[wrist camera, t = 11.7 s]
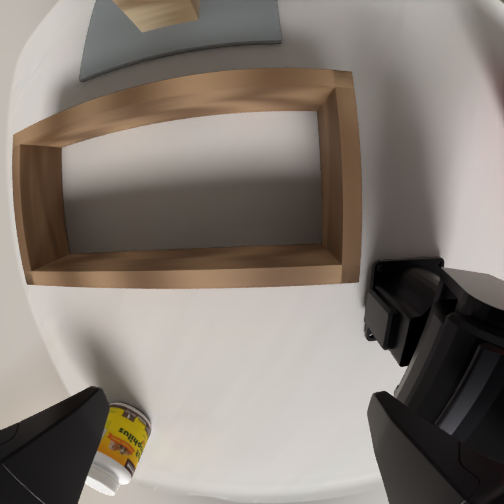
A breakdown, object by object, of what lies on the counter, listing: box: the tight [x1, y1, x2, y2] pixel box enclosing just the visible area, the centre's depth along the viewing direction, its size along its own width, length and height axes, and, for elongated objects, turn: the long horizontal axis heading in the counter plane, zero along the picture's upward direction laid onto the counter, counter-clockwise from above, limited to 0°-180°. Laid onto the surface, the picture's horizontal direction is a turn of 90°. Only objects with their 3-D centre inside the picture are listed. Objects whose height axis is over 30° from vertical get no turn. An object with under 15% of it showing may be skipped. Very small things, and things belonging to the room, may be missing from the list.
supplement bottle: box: [85, 403, 151, 496], centre depth 19 cm, size 6×6×10 cm
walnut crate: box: [12, 68, 362, 289], centre depth 15 cm, size 22×11×5 cm, turn 93°
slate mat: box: [79, 0, 282, 81], centre depth 14 cm, size 16×10×1 cm, turn 93°
